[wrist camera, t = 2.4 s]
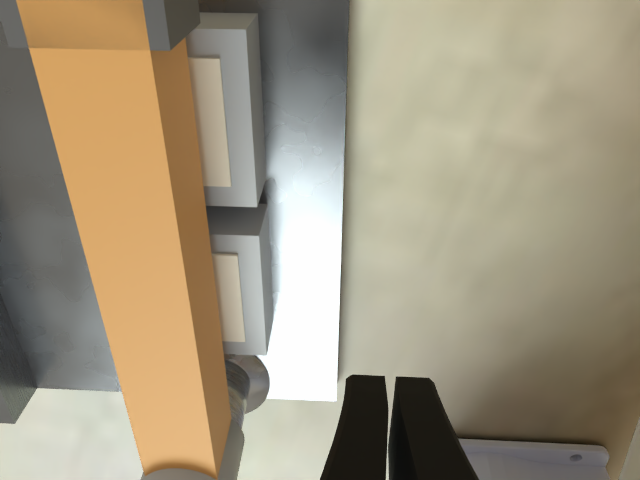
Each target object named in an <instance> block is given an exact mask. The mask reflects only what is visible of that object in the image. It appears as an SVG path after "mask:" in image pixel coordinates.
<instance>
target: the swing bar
mask: <svg viewBox="0 0 640 480" xmlns="http://www.w3.org/2000/svg"><path fill="white" fill-rule="evenodd" d="M0 18H1V22H2V25H3V29H4V32H5V36H6V39H7V42H8V46H9V48H29V50H30V54H31V57H32V61H33V65H34V68H35V72H36V76H37V80H38V83H39V87H40V91H41V94H42V98H43V102H44V105H45V109H46V113H47V116H48V120H49V124H50V128H51V131H52V135H53V139H54V142H55V146H56V150H57V153H58V157H59V161H60V164H61V168H62V172H63V176H64V179H65V183H66V187H67V190H68V194H69V198H70V201H71V205H72V209H73V212H74V216H75V220H76V224H77V227H78V231H79V235H80V238H81V242H82V246H83V249H84V253H85V257H86V260H87V264H88V268H89V272H90V275H91V279H92V283H93V286H94V290H95V294H96V297H97V301H98V305H99V309H100V312H101V316H102V320H103V323H104V327H105V331H106V334H107V338H108V342H109V345H110V349H111V353H112V357H113V360H114V364H115V368H116V371H117V375H118V379H119V382H120V386H121V390H122V393H123V397H124V401H125V405H126V408H127V412H128V416H129V419H130V423H131V427H132V430H133V434H134V438H135V441H136V445H137V449H138V453H139V456H140V460H141V464H142V467H143V471H144V472H143V475H142V477H141V480H237V476H238V471H239V466H240V461H241V456H242V451H243V446H244V434H243V431H242V430H241V428H240V426H239V425H238V424H237V423H236V422H235V421H234V420H233V419H231V410H230V402H229V394H228V386H227V377H226V369H225V361H224V353H223V344H222V336H221V328H220V320H219V311H218V303H217V295H216V287H215V278H214V270H213V262H212V254H211V245H210V237H209V229H208V221H207V212H206V204H205V196H204V188H203V179H202V171H201V163H200V155H199V146H198V138H197V130H196V122H195V113H194V105H193V97H192V89H191V80H190V72H189V64H188V56H187V47H186V39H185V37H186V36H187V35H188V34H189V33H190V32H191V31H193V30H194V29H195V28H196V27H197V26H198V25H199V24H200V23H201V22H200V12H199V3H198V0H0Z"/></svg>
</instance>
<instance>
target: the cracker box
mask: <svg viewBox="0 0 640 480" xmlns="http://www.w3.org/2000/svg"><path fill="white" fill-rule="evenodd" d="M618 480H640V417H639V420H638V423H637V426H636V429H635V432H634V435H633V438H632V441H631V444H630V446H629V449H628V452H627V455H626V458H625V461H624V464H623V467H622V470H621V473H620V476H619V479H618Z"/></svg>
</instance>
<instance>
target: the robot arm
mask: <svg viewBox="0 0 640 480" xmlns="http://www.w3.org/2000/svg"><path fill="white" fill-rule="evenodd" d="M387 433H388V401H387V391H386V383H385V376H371V375H351V376H350V377H348V378H346V386H345V395H344V401H343V406H342V411H341V415H340V419H339V423H338V426H337V430H336V433H335V437H334V440H333V443H332V446H331V449H330V452H329V455H328V458H327V461H326V464H325V467H324V470H323V472H322V475H321V478H320V480H386V458H387ZM388 458H389V480H610V477H609V475H608V473H607V470H606V468H605V466H606V464H607V462H608V460H609V454H608V452H607V450H606V448H605V447H603V446H599V445H581V444H560V443H539V442H518V441H498V440H477V439H458V438H457V436H456V434H455V432H454V430H453V427H452V425H451V423H450V421H449V419H448V417H447V414H446V412H445V410H444V407H443V405H442V403H441V400H440V398H439V395H438V392H437V390H436V387H435V384H434V382H433V381H432V380H431V379H429V378H417V377H396V382H395V391H394V400H393V409H392V418H391V427H390V435H389V444H388Z"/></svg>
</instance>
